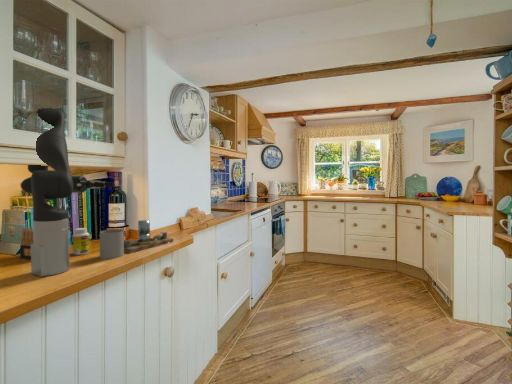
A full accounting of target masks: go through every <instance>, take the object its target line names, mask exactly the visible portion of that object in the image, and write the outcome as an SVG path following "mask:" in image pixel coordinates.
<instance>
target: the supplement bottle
mask: <svg viewBox="0 0 512 384" xmlns="http://www.w3.org/2000/svg"><path fill="white" fill-rule="evenodd" d="M89 252H90V233H89V232H88V229H87V228H86V227H79V228H75V230H74V233H73V234H72V253H73V255H75V256H79V255H80V256H81V255H86V254H88V253H89Z"/></svg>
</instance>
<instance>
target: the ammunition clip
mask: <svg viewBox="0 0 512 384" xmlns="http://www.w3.org/2000/svg"><path fill="white" fill-rule="evenodd" d="M20 238H21V239H20V240H21V244H20V247H19V248H20V249H19V252H20V254H19V255H20V259H22V260H23V259H24V260H31V244H34V235H33V227H31V226H30V228H29V227H26V228H25V226H22V229H21V237H20Z"/></svg>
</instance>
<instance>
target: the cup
mask: <svg viewBox="0 0 512 384" xmlns="http://www.w3.org/2000/svg"><path fill="white" fill-rule="evenodd" d="M124 233H125V232H124V229H121V228H115V229H114V228H113V229H111V228H110V229H104V230H100V231H99V258H100V259H103V260H112V259H118V258H121V257H123V256H125V252H124V239H125V238H124V237H125V236H124V235H125V234H124Z"/></svg>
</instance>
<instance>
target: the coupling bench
mask: <svg viewBox="0 0 512 384" xmlns="http://www.w3.org/2000/svg"><path fill="white" fill-rule="evenodd" d="M167 236H168V232H166V231H163V232H160V233H158V234H156V235H155V236H153V237H150V242H138V238H137V239H135V240H126V239H125V240H124V253H127V254H133V253H136V252H140V251H145V250H147V249H151V248H155V247H159V246H162V244H163V245H166V243H167V244H169V243H168V242H171V243H173V242H174V238H170V237H167ZM172 241H173V242H172Z"/></svg>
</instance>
